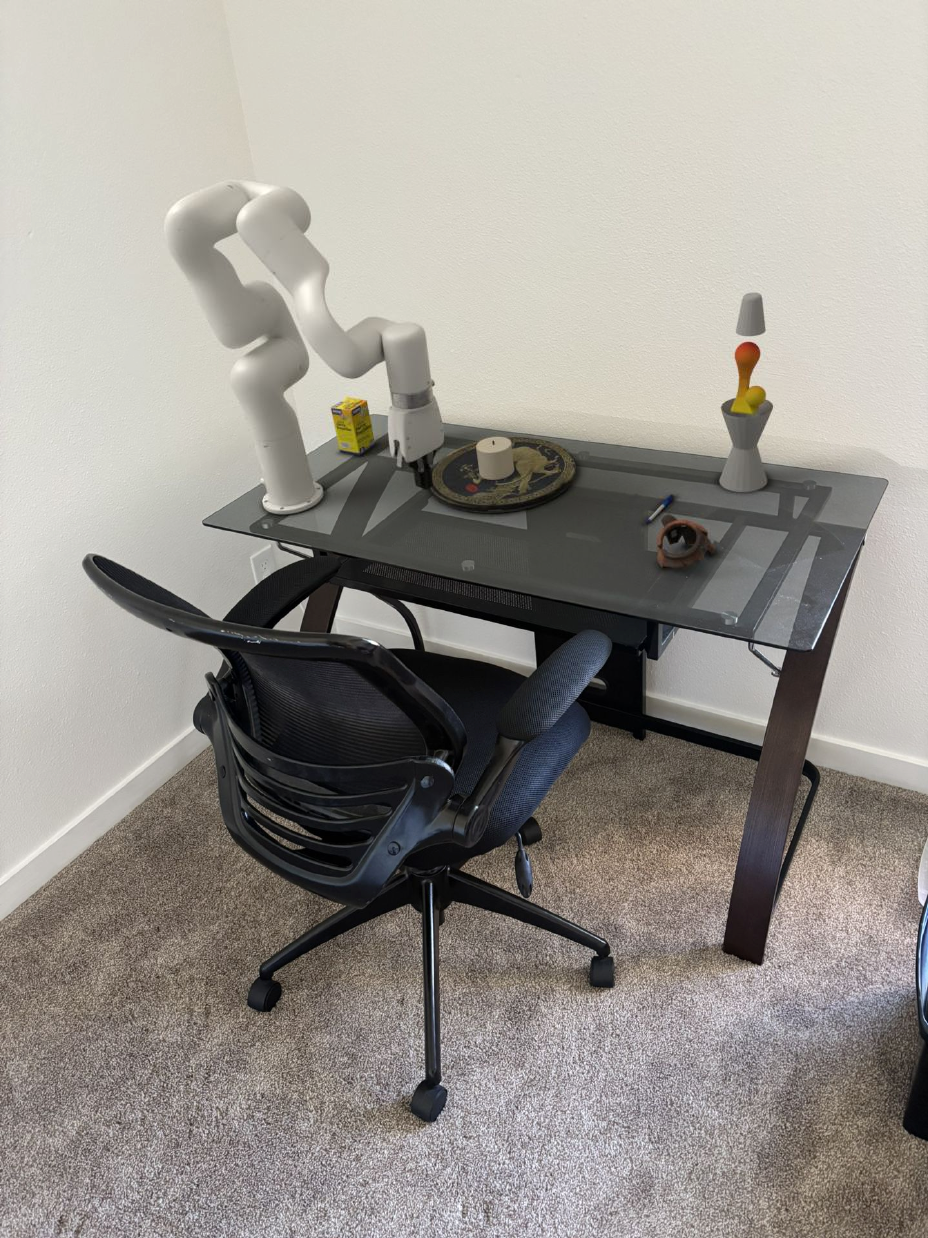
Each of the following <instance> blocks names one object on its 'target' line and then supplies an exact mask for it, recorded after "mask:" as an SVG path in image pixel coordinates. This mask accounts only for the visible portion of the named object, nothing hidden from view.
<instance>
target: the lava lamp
mask: <svg viewBox="0 0 928 1238" xmlns="http://www.w3.org/2000/svg"><path fill="white" fill-rule="evenodd" d="M763 302H764V301H763V296H762V294H760V293H759V292H747V293H745V294H743V296H742V298H741V303H740V308H739V314H738V318H737V323H736V328H735V334H736V335H738V336H741V337H757V336H760V335H763V334H765V333H766V331H767V329H766V321H765V320H766V319H765V312H764V311H765V310H764V303H763ZM760 358H761V348H760V347H759V346H758V344H757V343H755V342H753V341H744V342H742V343H740V344H739V345H738V346H737V347H736V348H735V351H734V360H735V363H736V367H737V373H738V388H737V392H736V395H735V397H734V398H730V399H728V400H725V401H724V402H723V403H722V404H721V405H720V411H721V415H722V417H723V419H724V422H725V427H726V429H727V432H728V434H729V436H730V440H731V443H732V446H731V449H730V452H729V454H728V457H727V459H726V461H725V465H724V467H723V469H722V472H721V474H720V478H719V485H720V486H721V487H722V488H724V489H726V490H728V491H731V492H735V493H750V492H755V491H759V490H761V489H763V488H764V487H765V486H767V483H768V478H767V475H766V471H765V468H764V464H763V460H762V457H761V453H760V451H759V447H758V443H759V441H760V439H761V438H762V435H763V433H764V430H765V427H766V425H767V423H768V421H769V418H770V417H771V414H772V412H773V409H774V404H773V403H772V402H771V401H770V400H768V399H767V393H766V390H765V389H764V388H763V387H762V386H760V385H752V386H750V382H751V378H752V375H753V372H754V369H755V368H756V366H757V364H758V362H759V361H760Z"/></svg>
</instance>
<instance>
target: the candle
mask: <svg viewBox="0 0 928 1238" xmlns="http://www.w3.org/2000/svg"><path fill="white" fill-rule="evenodd" d="M507 438H508V437H504V436H491V437H486V438H484V439H482V440H480V441H478V442H479V443H478V444H477V445H476V450H477V458H478V465H479V473H480V476H481V477H483V478H485V479H489V480H498V479H503V478H506V477H508V476H510V475H511V474H512V473H513V472H514V463H513V454H512V445H511V441H510V440H509V439H507Z"/></svg>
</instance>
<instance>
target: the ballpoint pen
mask: <svg viewBox="0 0 928 1238" xmlns="http://www.w3.org/2000/svg"><path fill="white" fill-rule="evenodd" d="M674 497H675V496H674V494H672V493H671V494H670V495H669V496H668V497H667V498H666V499H665V500H664V501H663V502H662V504H661V505H660V506H659V507H658V508H657V509H656V510H655V512H653V513H652V515H651V516H650V517H649V518H648V519H647V520H646V524H649V523H651V522H652V521H653V520H654V519H655V518H656V517H657V515H658V514H660V513H661V512H662V510H663V509H664V508H665V507H667V506H668V504H669V503H670V502H671V501H673V499H674Z"/></svg>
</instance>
